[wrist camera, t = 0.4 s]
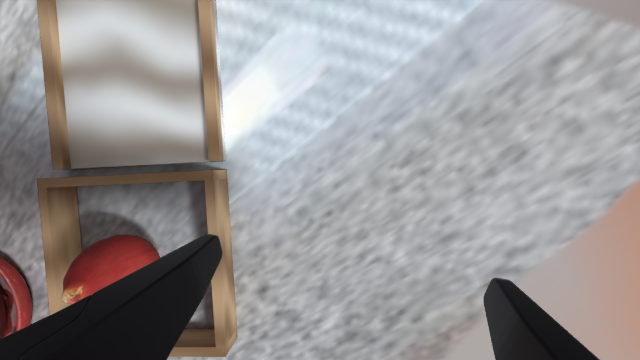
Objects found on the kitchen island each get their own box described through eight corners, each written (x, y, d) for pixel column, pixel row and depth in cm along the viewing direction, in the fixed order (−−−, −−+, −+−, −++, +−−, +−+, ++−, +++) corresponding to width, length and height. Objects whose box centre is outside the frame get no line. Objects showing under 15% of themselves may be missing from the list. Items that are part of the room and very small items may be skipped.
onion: (135, 294, 24) (37, 355, 17) (114, 237, 24) (5, 271, 16) (190, 275, 24) (116, 329, 16) (168, 217, 24) (84, 243, 16)
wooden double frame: (237, 337, 24) (225, 356, 21) (82, 337, 25) (53, 355, 23) (214, -17, 23) (199, -40, 20) (51, 0, 24) (17, -20, 21)
